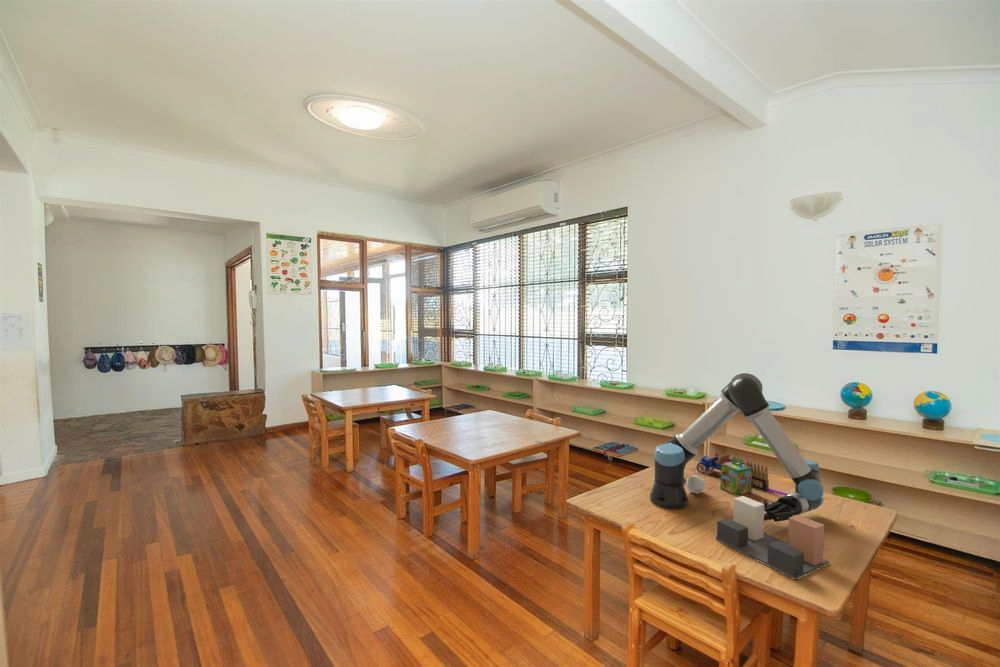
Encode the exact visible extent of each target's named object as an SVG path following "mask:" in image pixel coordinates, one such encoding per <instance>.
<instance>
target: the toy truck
mask: <svg viewBox="0 0 1000 667" xmlns="http://www.w3.org/2000/svg"><path fill="white" fill-rule="evenodd" d="M714 455H715V456H714V457H708V456H706V455H704V456H702V457H701V459H700V460H697V462H698V463H697V464H696V470H697V471H698V473H700V472H701V473H700V474H706V473H707V472H712V473H716V474H718V475H719V474H720V475H721V464H724V463H730V462H732V461H733V458H732V459H731V458H730V453H727V454H725V455H720V454H719V453H717V452H715V453H714ZM735 462H738V463H740V462H739V461H738V460H736V461H735ZM742 464H744V465H746V462H743V463H742ZM749 466H750V463H749ZM716 470H717V471H716Z"/></svg>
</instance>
